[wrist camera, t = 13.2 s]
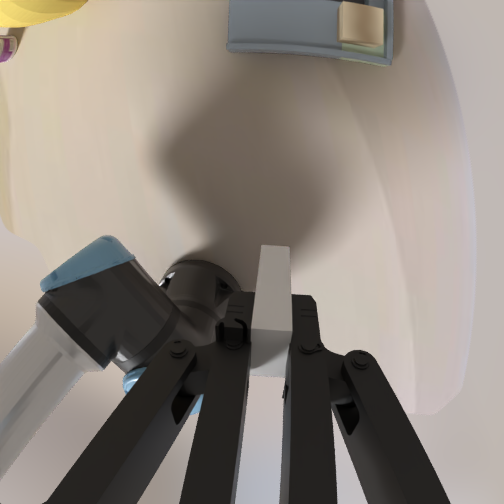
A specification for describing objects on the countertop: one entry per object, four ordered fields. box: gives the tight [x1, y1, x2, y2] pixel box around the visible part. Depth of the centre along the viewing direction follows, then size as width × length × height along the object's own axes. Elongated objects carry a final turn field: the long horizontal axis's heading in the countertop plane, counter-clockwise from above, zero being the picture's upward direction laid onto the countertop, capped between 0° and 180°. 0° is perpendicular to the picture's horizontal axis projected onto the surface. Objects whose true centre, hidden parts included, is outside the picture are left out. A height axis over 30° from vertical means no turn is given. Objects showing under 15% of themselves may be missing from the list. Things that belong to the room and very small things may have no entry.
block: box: [337, 1, 383, 48], centre depth 29 cm, size 5×5×4 cm
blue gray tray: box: [226, 0, 393, 67], centre depth 30 cm, size 21×15×4 cm
